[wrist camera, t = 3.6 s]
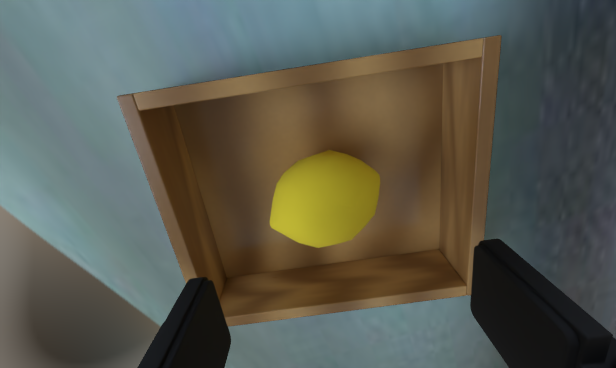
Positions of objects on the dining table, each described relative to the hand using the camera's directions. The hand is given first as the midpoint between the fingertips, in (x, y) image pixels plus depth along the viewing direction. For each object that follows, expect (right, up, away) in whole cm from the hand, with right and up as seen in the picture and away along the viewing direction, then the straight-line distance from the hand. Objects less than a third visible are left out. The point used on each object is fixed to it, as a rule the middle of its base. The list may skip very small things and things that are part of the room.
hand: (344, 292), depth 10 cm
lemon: (0, +4, +9) cm, 10 cm away
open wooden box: (0, +4, +9) cm, 10 cm away
